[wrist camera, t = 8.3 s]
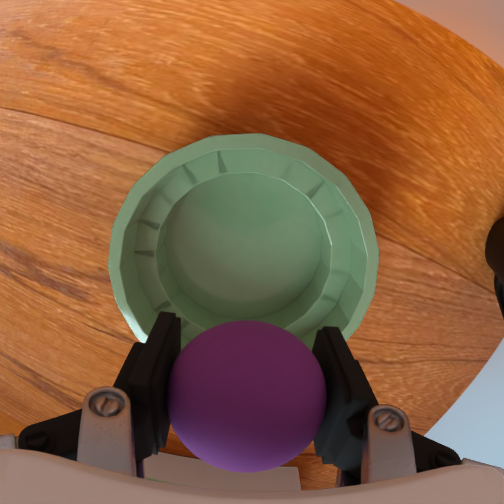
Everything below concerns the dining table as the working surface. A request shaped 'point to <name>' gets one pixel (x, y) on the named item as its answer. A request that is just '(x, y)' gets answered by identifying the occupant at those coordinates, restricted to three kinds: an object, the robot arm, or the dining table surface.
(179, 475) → the tray
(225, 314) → the green bowl
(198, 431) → the ball
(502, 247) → the mug
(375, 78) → the dining table surface
